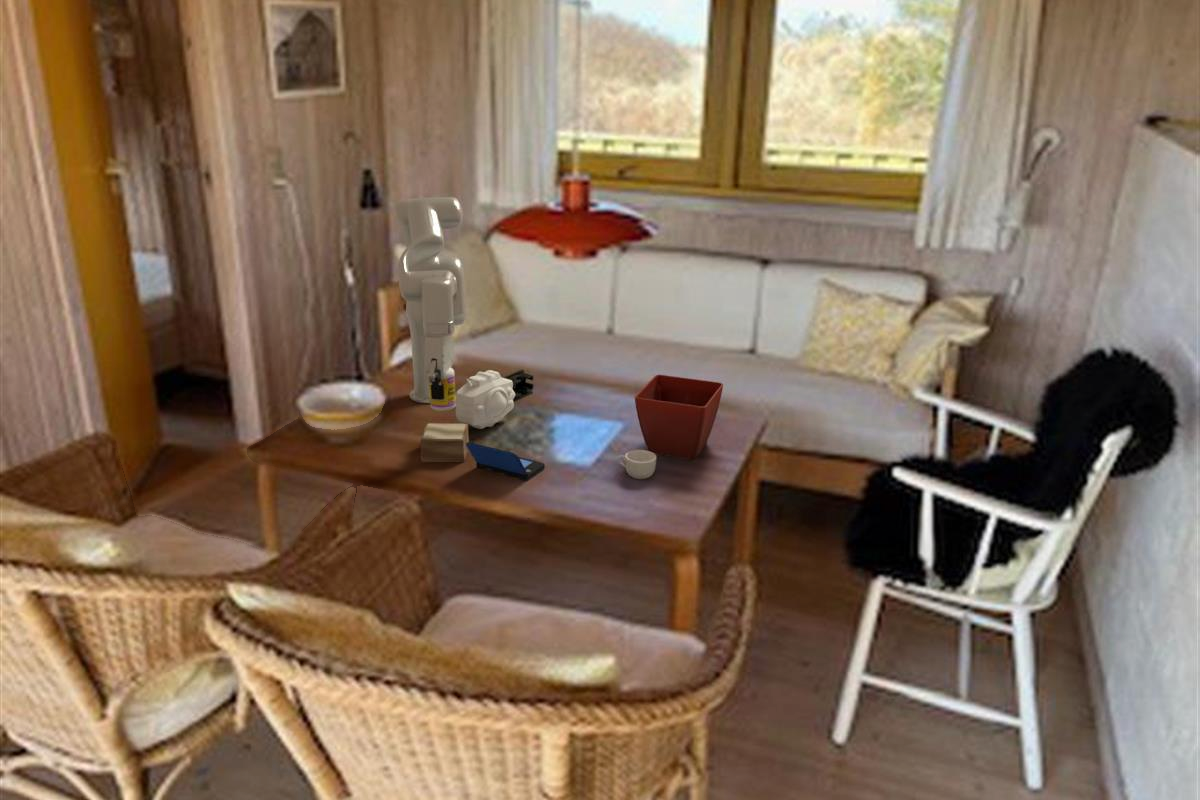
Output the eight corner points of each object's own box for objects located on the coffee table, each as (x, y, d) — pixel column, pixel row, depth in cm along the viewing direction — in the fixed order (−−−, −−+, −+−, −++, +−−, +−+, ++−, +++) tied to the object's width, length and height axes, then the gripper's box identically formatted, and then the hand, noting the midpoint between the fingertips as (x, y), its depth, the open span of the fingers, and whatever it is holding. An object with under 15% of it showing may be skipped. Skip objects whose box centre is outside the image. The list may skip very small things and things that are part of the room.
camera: (450, 430, 257) (448, 376, 251) (495, 411, 271) (493, 360, 265) (479, 440, 251) (477, 385, 245) (523, 420, 264) (522, 368, 259)
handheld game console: (546, 468, 236) (546, 435, 232) (517, 489, 225) (516, 454, 221) (496, 455, 243) (495, 423, 239) (465, 474, 232) (464, 441, 228)
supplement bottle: (450, 412, 235) (448, 364, 230) (426, 410, 236) (423, 362, 231) (459, 403, 241) (457, 356, 236) (435, 401, 242) (433, 354, 237)
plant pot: (631, 456, 243) (633, 396, 237) (654, 429, 259) (656, 373, 253) (701, 468, 236) (705, 407, 230) (720, 440, 253) (724, 383, 247)
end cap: (516, 388, 289) (516, 367, 287) (534, 392, 286) (534, 372, 283) (495, 397, 282) (495, 376, 279) (513, 402, 278) (513, 381, 275)
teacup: (660, 472, 234) (661, 453, 232) (648, 484, 227) (649, 465, 225) (624, 464, 238) (624, 445, 236) (611, 476, 231) (612, 457, 229)
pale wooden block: (427, 444, 248) (426, 422, 246) (468, 444, 248) (467, 422, 246) (421, 461, 238) (420, 439, 236) (464, 461, 238) (463, 439, 236)
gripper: (435, 317, 239) (438, 381, 245) (412, 336, 223) (417, 405, 229) (463, 318, 238) (466, 383, 244) (442, 338, 222) (446, 407, 228)
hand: (442, 393), depth 237 cm, fingers closed on supplement bottle, 6 cm apart
